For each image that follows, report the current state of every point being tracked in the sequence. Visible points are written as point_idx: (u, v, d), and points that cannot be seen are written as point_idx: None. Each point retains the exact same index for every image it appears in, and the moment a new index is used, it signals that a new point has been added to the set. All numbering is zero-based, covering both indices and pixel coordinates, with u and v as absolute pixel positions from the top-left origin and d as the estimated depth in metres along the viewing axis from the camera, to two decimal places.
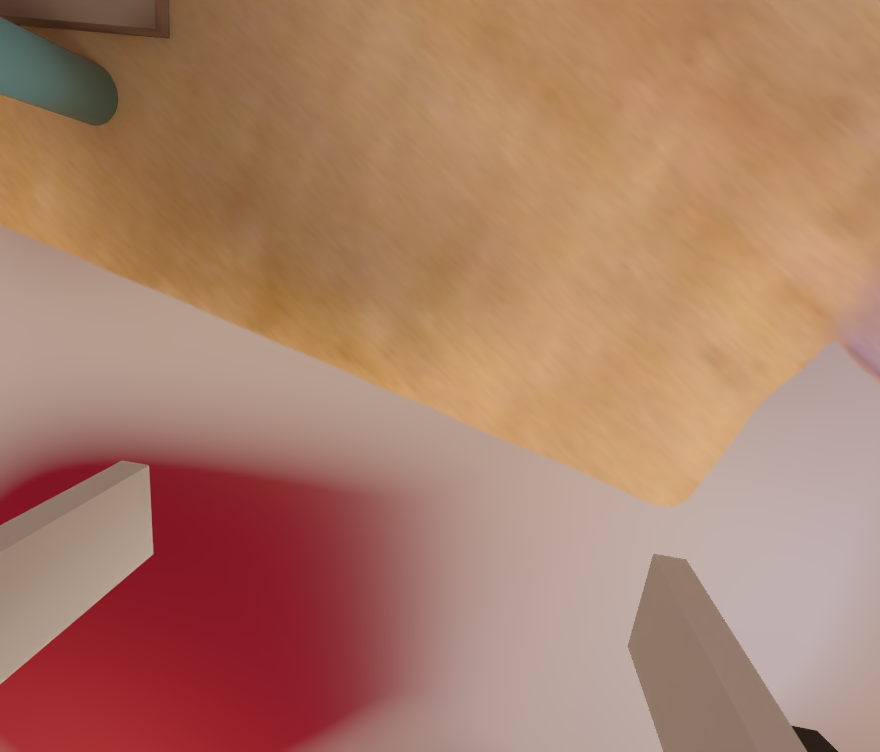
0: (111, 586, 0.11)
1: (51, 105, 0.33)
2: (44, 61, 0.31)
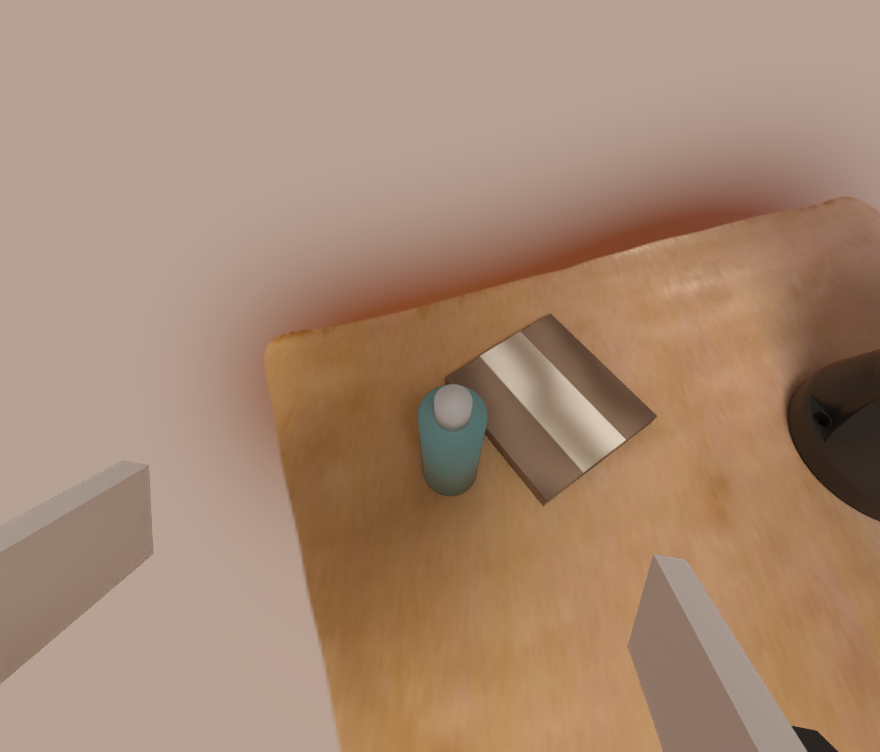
0: (111, 586, 0.11)
1: (435, 474, 0.35)
2: (472, 464, 0.33)
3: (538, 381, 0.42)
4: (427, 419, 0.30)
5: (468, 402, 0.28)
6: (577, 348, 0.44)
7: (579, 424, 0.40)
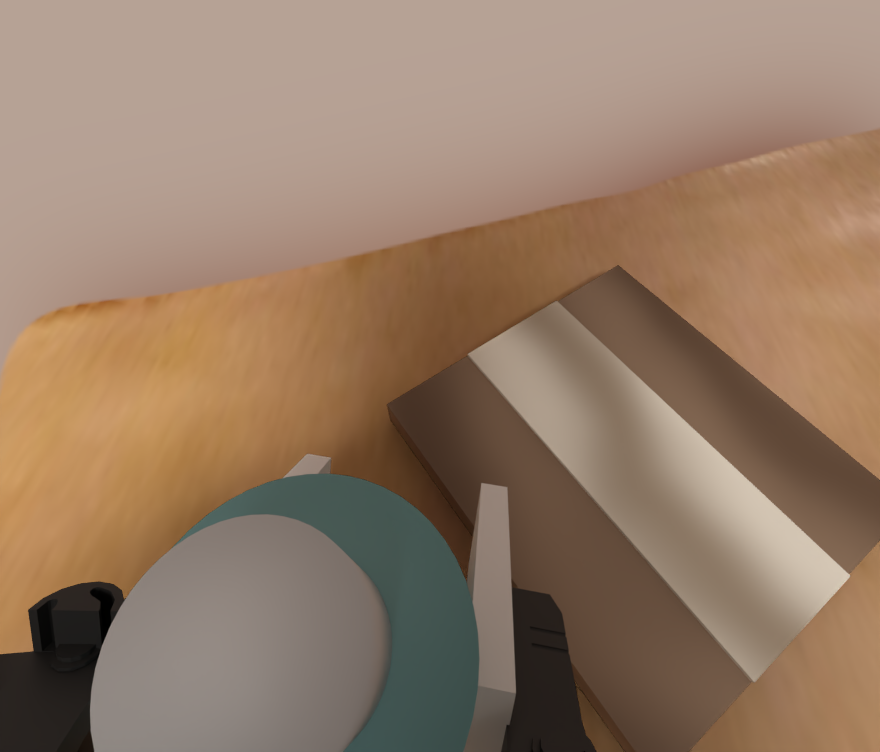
0: None
1: None
2: None
3: (605, 414, 0.18)
4: None
5: (340, 667, 0.04)
6: (686, 337, 0.20)
7: (720, 529, 0.16)
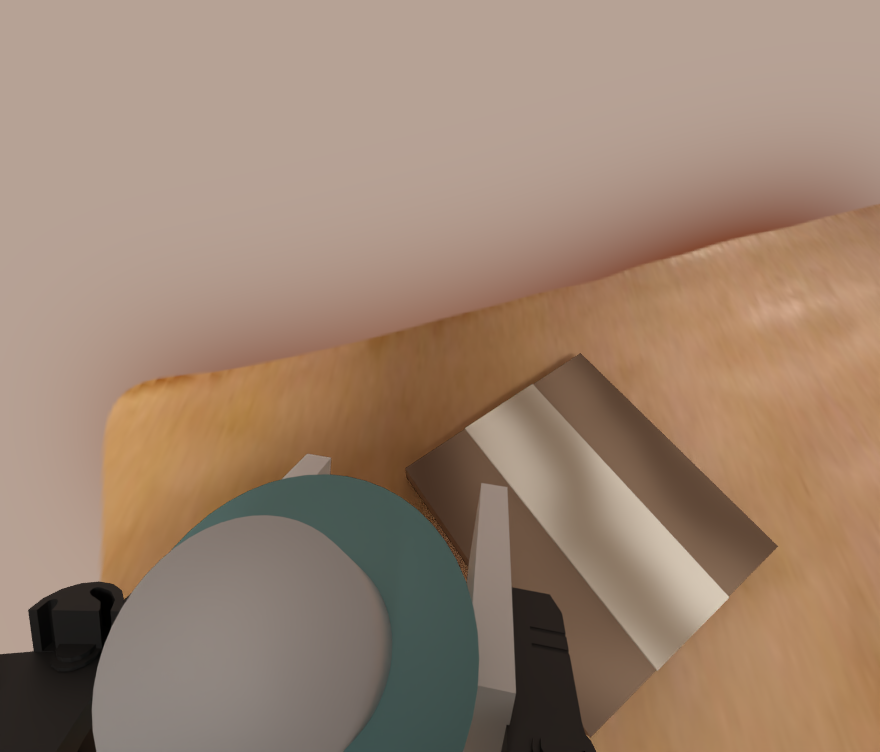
0: None
1: None
2: None
3: (565, 477, 0.24)
4: None
5: (340, 668, 0.04)
6: (628, 415, 0.26)
7: (642, 564, 0.22)
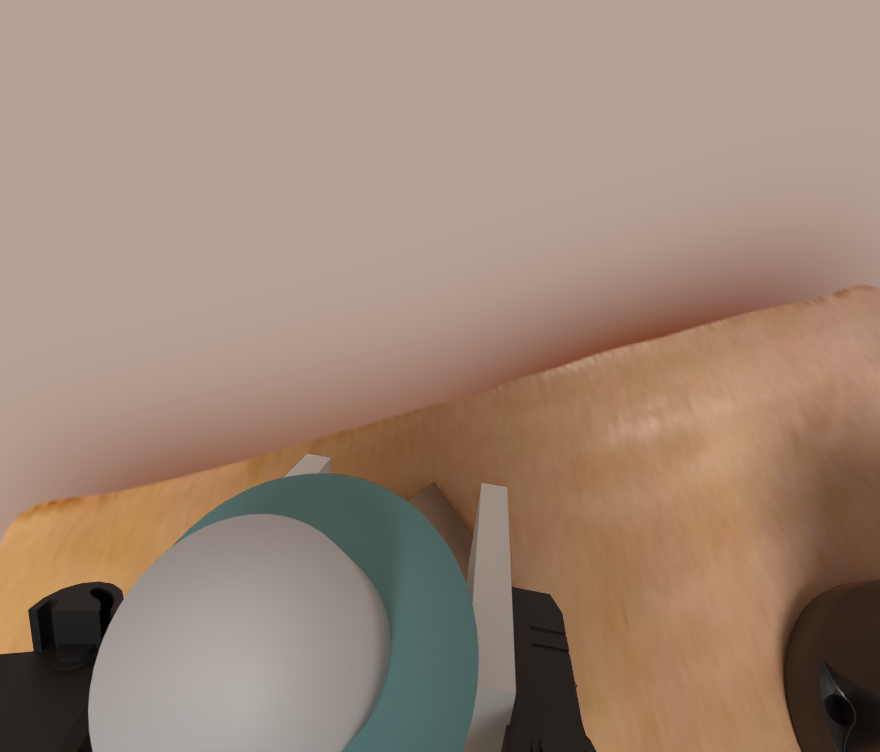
0: None
1: None
2: None
3: None
4: None
5: (338, 667, 0.04)
6: (466, 548, 0.29)
7: None
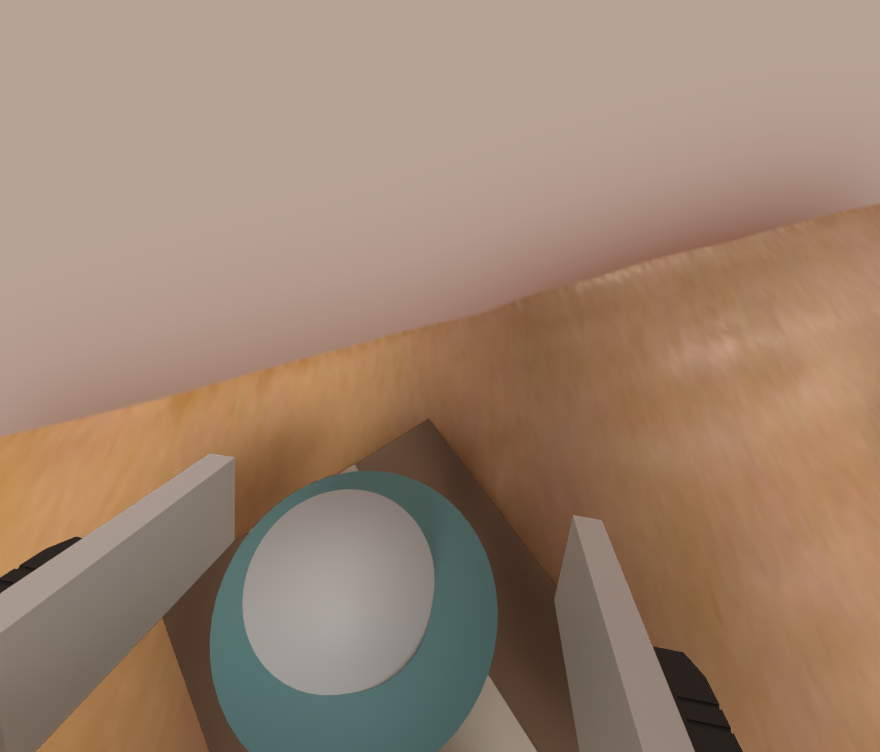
0: (204, 568, 0.12)
1: None
2: None
3: None
4: None
5: (414, 590, 0.06)
6: (476, 509, 0.19)
7: (455, 751, 0.15)
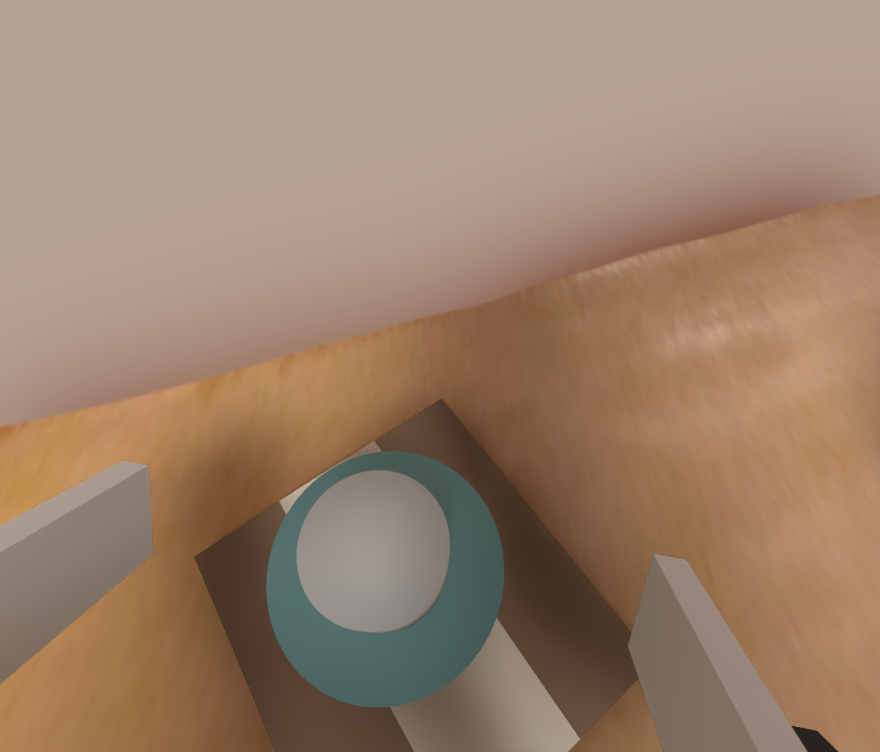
0: (111, 586, 0.11)
1: None
2: None
3: None
4: (299, 582, 0.09)
5: (433, 551, 0.07)
6: (488, 479, 0.21)
7: (472, 691, 0.17)
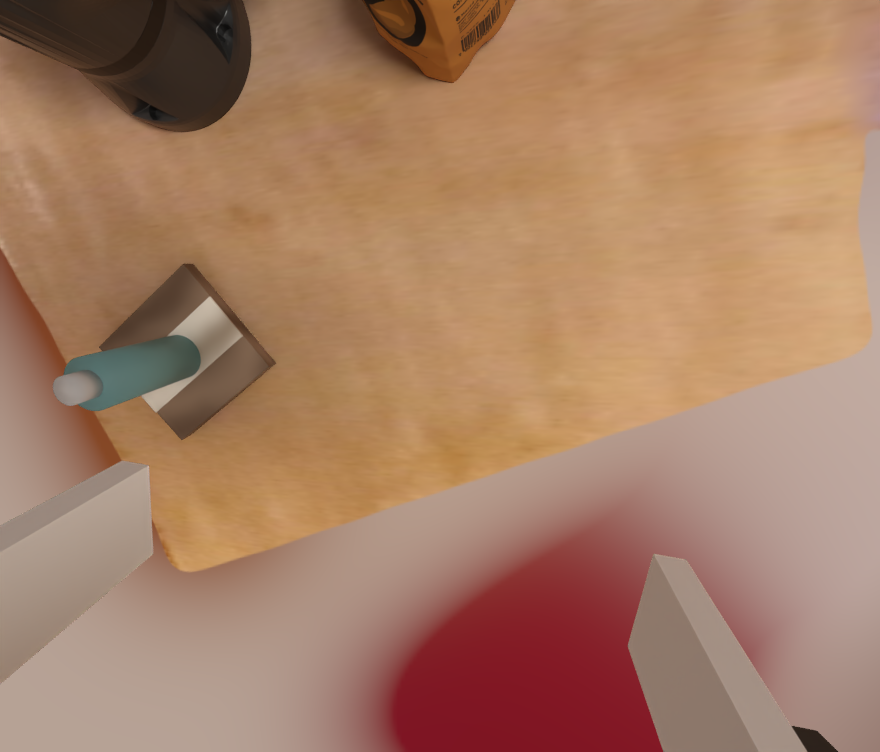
0: (111, 585, 0.11)
1: (169, 378, 0.43)
2: (148, 353, 0.41)
3: None
4: (97, 403, 0.37)
5: (65, 379, 0.35)
6: (130, 326, 0.48)
7: (202, 334, 0.47)
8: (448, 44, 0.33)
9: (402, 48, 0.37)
